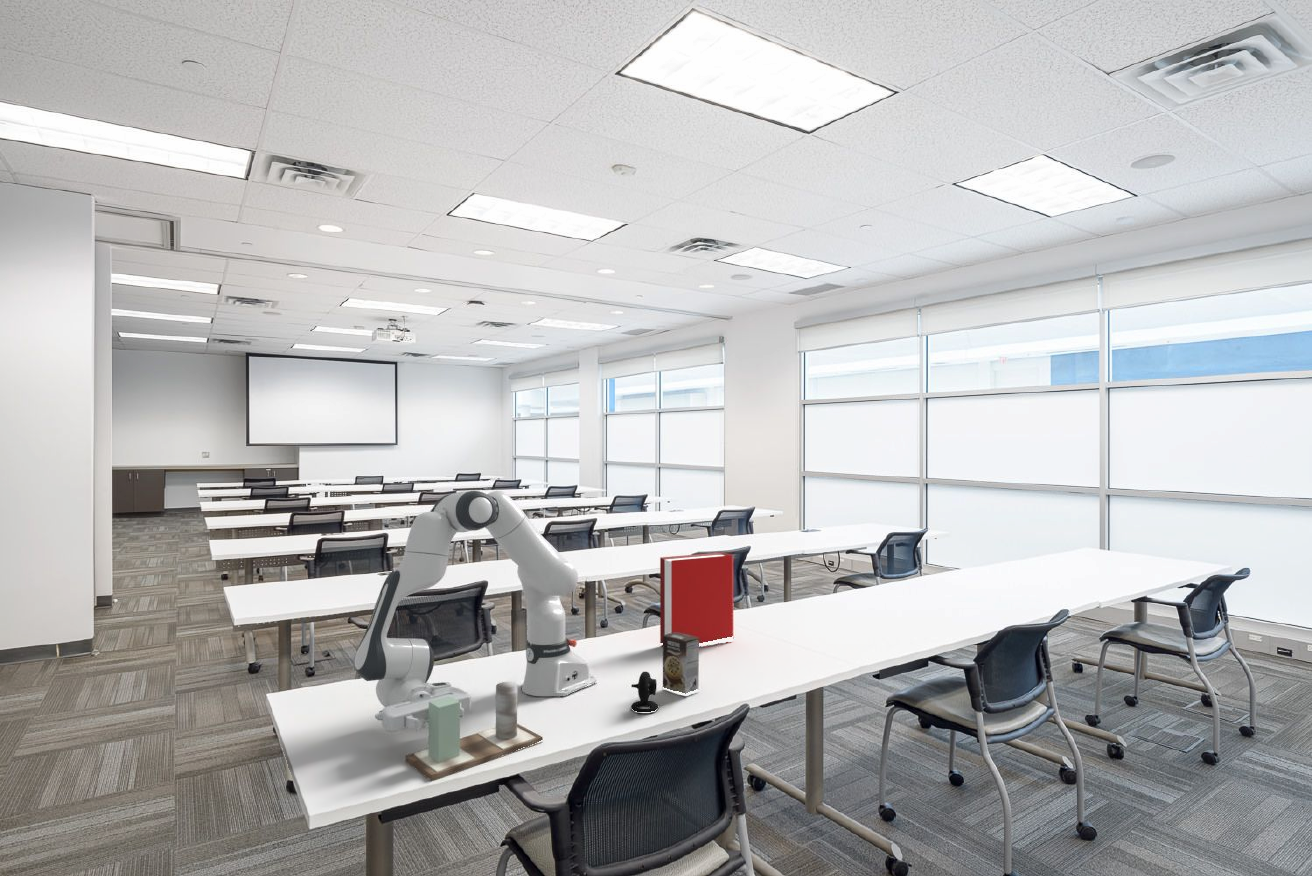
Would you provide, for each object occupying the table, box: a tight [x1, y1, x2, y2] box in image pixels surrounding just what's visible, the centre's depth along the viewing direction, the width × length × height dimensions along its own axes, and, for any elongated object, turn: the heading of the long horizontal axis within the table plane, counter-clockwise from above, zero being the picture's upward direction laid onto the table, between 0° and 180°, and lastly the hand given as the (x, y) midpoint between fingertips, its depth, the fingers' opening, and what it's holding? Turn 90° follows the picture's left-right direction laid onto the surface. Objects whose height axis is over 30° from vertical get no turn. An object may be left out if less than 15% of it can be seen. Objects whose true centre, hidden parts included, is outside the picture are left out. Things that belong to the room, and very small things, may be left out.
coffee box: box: [662, 632, 700, 694], centre depth 197 cm, size 9×6×16 cm
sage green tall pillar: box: [427, 696, 461, 763], centre depth 151 cm, size 5×5×12 cm
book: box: [659, 552, 734, 644], centre depth 246 cm, size 27×8×32 cm, turn 119°
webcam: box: [630, 671, 659, 712], centre depth 183 cm, size 8×8×10 cm
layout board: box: [405, 681, 544, 782], centre depth 157 cm, size 28×13×13 cm, turn 134°
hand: (442, 719), depth 152 cm, fingers open, 8 cm apart
